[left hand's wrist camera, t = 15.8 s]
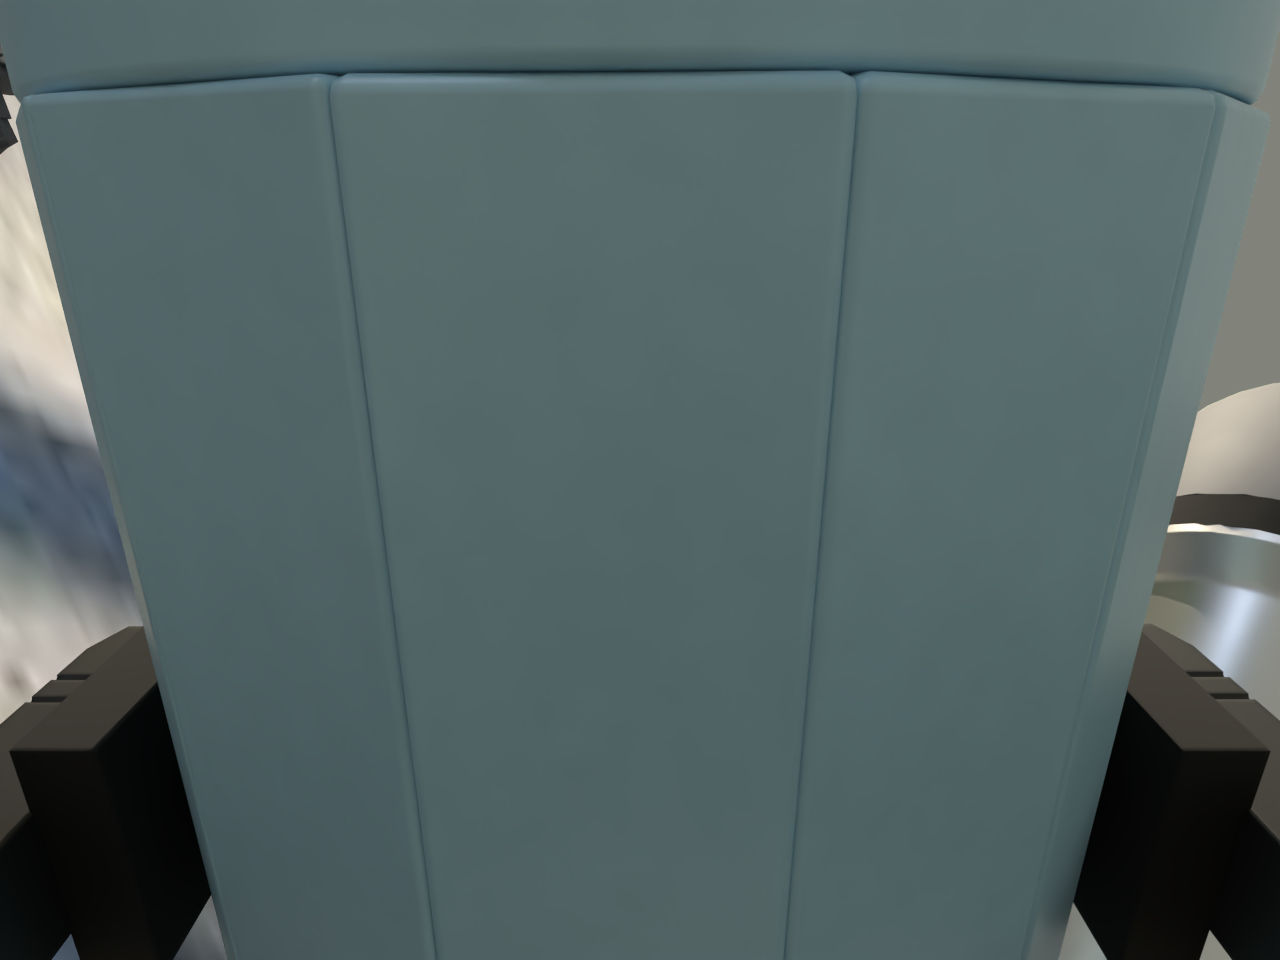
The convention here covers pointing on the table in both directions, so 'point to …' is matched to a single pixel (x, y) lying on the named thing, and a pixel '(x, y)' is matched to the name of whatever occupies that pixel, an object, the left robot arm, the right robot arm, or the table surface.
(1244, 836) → the left robot arm
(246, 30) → the beaker
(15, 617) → the table surface
